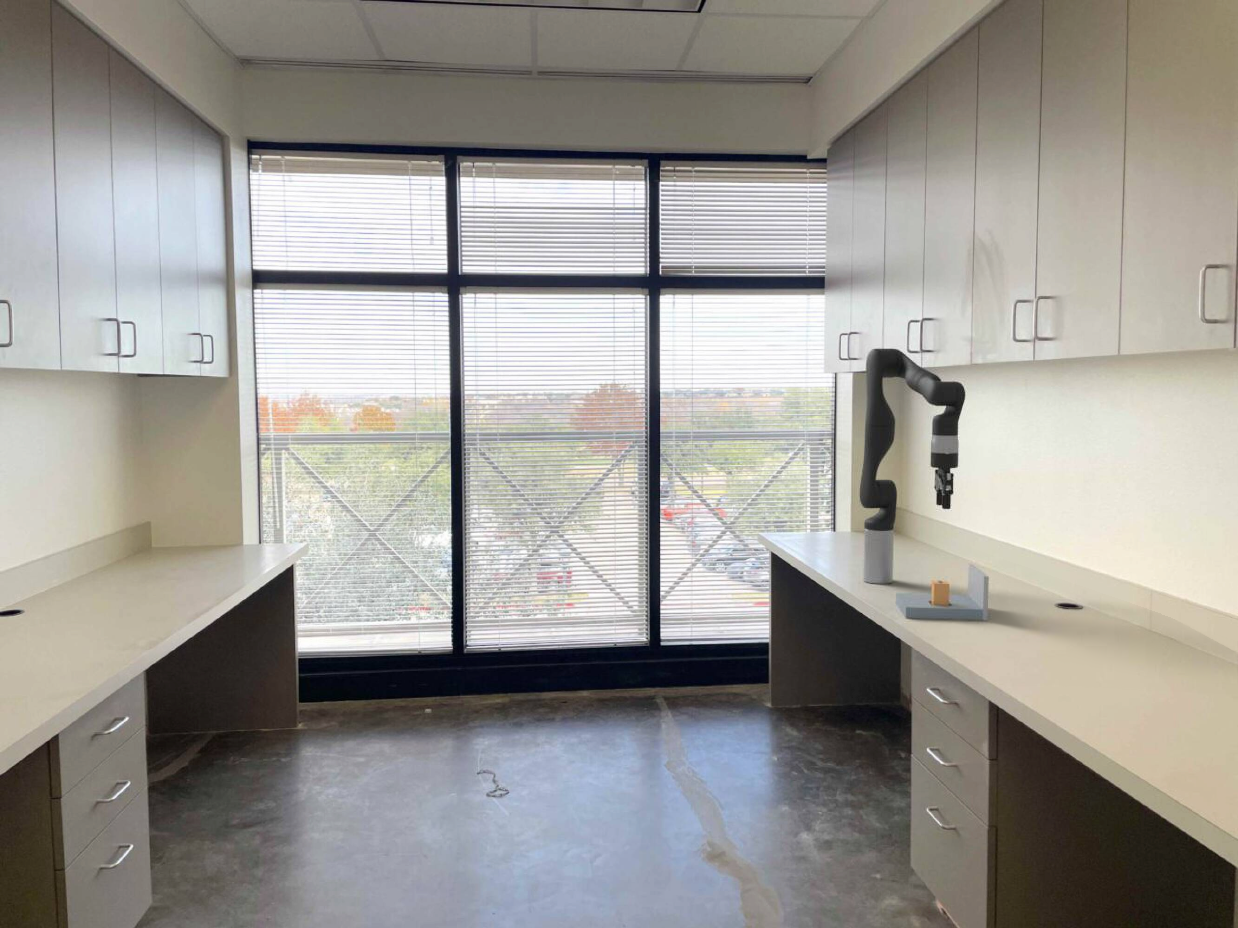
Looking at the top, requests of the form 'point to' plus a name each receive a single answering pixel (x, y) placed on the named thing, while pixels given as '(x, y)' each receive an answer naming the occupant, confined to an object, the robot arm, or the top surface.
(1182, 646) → the top surface
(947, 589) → the block
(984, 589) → the grey slotted stand
